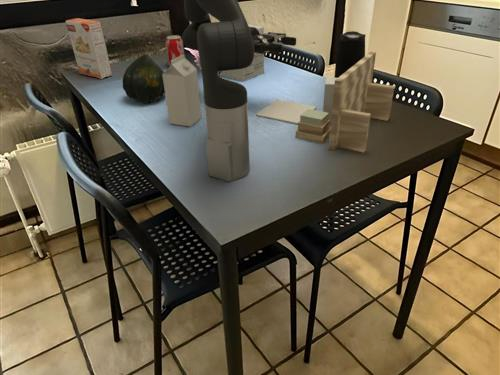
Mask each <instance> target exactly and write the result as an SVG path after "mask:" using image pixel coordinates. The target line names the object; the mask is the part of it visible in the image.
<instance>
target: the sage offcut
mask: <svg viewBox="0 0 500 375" xmlns="http://www.w3.org/2000/svg"><path fill="white" fill-rule="evenodd" d="M328 118H329V113H327V112H323V110H316V109H315V110H311V109H308V110H306V111H305V112H304V113H303V114H301V115H300V122H301V123H306V124H310V125H315V126H320V127H321V126H322V125H323V124H324V123H326V122H327V121H328Z"/></svg>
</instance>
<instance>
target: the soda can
mask: <svg viewBox="0 0 500 375" xmlns="http://www.w3.org/2000/svg"><path fill="white" fill-rule="evenodd" d="M165 46H166V47H165V48H166V50H165V51H166V56H167V63H168V65H169V66H168V67H170V66H171V60H173V59H175V58H177V57H179V56H181V55H183V54H184V55H185V48H184V42H183V40H182V36H181V35H179V34H176V35H175V34H174V35H173V34H172V35H168V36H166V40H165Z"/></svg>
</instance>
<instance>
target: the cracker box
mask: <svg viewBox="0 0 500 375" xmlns="http://www.w3.org/2000/svg"><path fill="white" fill-rule="evenodd" d="M65 24H66V28H67V32H68V35H69V39H70V43H71V47H72V49H73V50H72V51H73V53H74V57H75V58H74V59H75V61H76V66H77V69H78V72H79V74H80V73H82V74H86V75H89V76H93V77H97V78H104V77H106V76H109V75H112V76H113V72H112V69H111V63H110V59H109V55H108V50H107V44H106V41H105V37H104V32H103V27H102V24H101V21H98V20H91V19H85V18H79V17H77V18H71V19H66V20H65ZM89 76H88V77H89ZM93 77H92V78H93ZM97 78H96V79H97Z"/></svg>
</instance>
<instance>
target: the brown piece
mask: <svg viewBox="0 0 500 375" xmlns="http://www.w3.org/2000/svg"><path fill="white" fill-rule="evenodd" d="M376 56H377V52H376V51H370V52H369V53H367V54H365V57H364V58H362V59H361V60H360V61H359V62H357V63H356V64H355V65H354V66H352V67H351V68H350V69H349V70H347V71H346V72H345V73H344V74H342V75H341V76H340V77H339V78H337V79H336V80H335V84H334V96H333V107H332V118H331V124H330V128H331V129H330V137H329V142H328V150H331V151H335V150H336V149H337V148H341V149H345V150H348V151H349V150H351V151H355V152H359V153H362V154H364V153H365V152H366V150H367V143H368V136H369V131H370V130H369V129H370V124H371V119H374V120H380V121H385V122H389V119H390V114H391V108H392V103H393V97H394V93H395V92H394V91H395V86H396V85H391V84H384V83H377V82H373V76H374V69H375V62H376Z"/></svg>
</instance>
